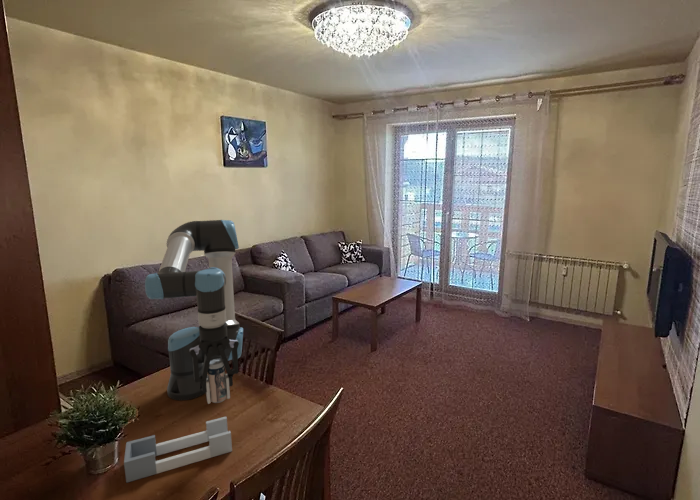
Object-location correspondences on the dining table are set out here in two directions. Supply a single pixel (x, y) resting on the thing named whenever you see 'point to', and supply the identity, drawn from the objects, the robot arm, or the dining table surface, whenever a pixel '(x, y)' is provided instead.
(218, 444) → the end-cap channel
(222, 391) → the beer can
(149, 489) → the dining table surface
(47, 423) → the dining table surface
